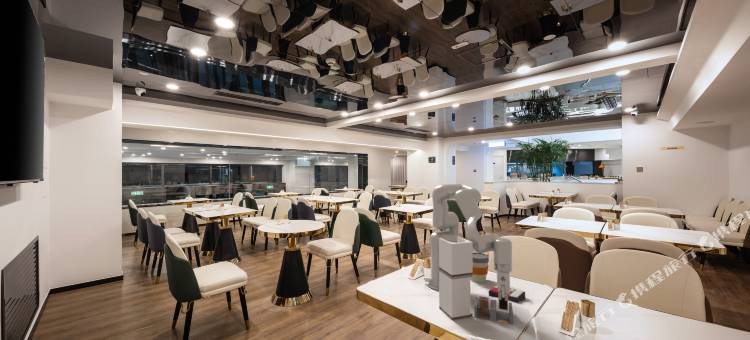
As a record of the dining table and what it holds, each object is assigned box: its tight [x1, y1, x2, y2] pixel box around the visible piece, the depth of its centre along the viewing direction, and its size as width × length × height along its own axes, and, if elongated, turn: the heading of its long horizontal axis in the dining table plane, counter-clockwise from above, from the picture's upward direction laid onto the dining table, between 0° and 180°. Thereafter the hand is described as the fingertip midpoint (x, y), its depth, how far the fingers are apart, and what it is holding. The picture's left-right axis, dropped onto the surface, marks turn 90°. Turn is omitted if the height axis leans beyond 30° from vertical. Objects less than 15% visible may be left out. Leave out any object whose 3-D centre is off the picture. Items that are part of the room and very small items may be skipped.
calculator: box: [488, 284, 526, 304], centre depth 156 cm, size 11×4×15 cm
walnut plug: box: [478, 295, 490, 316], centre depth 137 cm, size 4×4×7 cm
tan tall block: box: [497, 292, 509, 312], centre depth 133 cm, size 4×4×7 cm
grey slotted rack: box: [473, 296, 514, 325], centre depth 135 cm, size 16×10×6 cm, turn 68°
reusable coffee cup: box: [470, 252, 490, 284], centre depth 179 cm, size 13×13×15 cm
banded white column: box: [438, 235, 474, 321], centre depth 138 cm, size 11×11×35 cm
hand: (503, 306), depth 133 cm, fingers closed on tan tall block, 4 cm apart
